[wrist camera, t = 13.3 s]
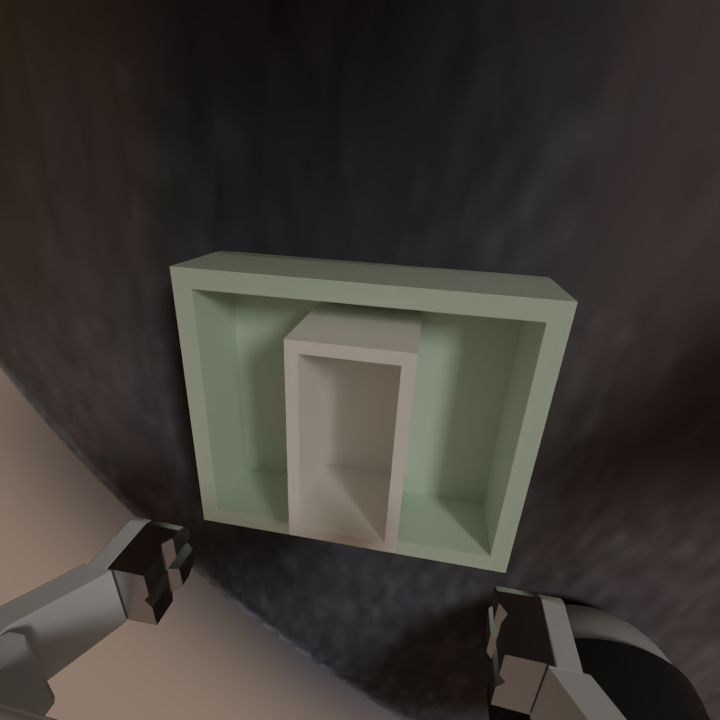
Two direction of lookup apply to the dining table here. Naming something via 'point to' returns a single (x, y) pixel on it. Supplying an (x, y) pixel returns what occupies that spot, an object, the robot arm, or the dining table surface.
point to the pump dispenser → (625, 670)
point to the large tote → (430, 400)
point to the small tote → (349, 421)
